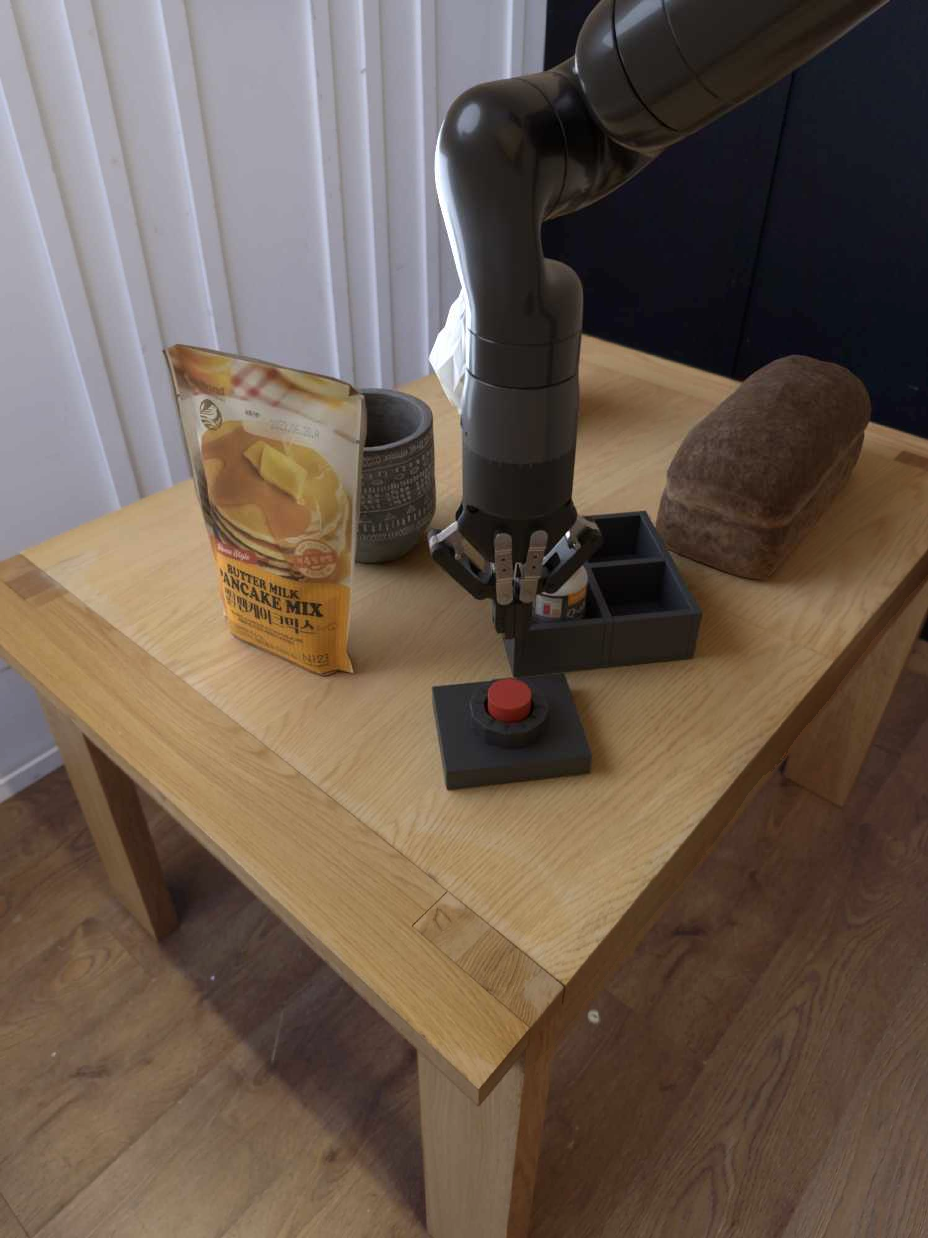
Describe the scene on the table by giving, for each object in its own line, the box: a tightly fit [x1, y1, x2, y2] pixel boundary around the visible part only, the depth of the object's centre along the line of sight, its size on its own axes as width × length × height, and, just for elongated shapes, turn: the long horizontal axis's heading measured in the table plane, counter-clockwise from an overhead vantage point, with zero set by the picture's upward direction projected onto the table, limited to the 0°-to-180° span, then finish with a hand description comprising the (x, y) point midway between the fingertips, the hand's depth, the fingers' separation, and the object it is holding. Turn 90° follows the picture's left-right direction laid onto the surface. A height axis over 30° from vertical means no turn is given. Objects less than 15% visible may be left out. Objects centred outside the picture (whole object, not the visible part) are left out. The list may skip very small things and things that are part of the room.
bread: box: [654, 354, 872, 581], centre depth 99 cm, size 15×32×16 cm, turn 143°
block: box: [431, 672, 593, 791], centre depth 75 cm, size 12×10×4 cm
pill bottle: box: [532, 537, 588, 625], centre depth 82 cm, size 6×6×10 cm
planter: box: [354, 387, 437, 564], centre depth 95 cm, size 14×14×15 cm
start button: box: [488, 679, 531, 723], centre depth 73 cm, size 4×4×2 cm
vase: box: [428, 288, 466, 416], centre depth 117 cm, size 16×16×18 cm
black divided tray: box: [483, 510, 703, 678], centre depth 88 cm, size 17×17×6 cm
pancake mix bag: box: [161, 343, 367, 677], centre depth 78 cm, size 7×19×28 cm, turn 58°
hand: (511, 632), depth 69 cm, fingers closed
